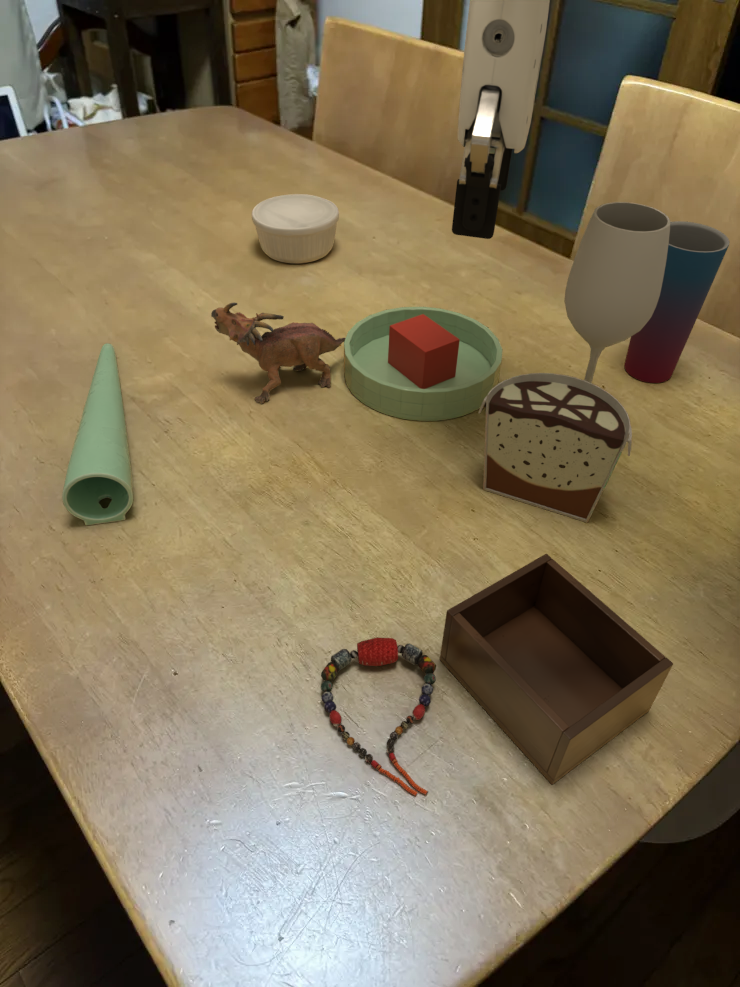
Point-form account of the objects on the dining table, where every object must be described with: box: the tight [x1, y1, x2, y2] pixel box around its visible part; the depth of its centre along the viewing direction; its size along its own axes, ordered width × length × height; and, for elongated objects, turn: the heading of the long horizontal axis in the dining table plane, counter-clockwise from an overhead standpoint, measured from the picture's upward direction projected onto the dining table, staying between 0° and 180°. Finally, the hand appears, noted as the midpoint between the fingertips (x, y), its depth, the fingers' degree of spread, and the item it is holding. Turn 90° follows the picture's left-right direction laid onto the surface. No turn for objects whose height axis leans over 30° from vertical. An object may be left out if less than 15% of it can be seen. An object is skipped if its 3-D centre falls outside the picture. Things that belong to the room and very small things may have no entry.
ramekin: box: [251, 193, 340, 264], centre depth 99 cm, size 11×11×5 cm
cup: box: [624, 220, 730, 384], centre depth 76 cm, size 7×7×15 cm
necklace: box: [320, 637, 437, 796], centre depth 49 cm, size 8×11×2 cm
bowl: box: [343, 306, 504, 422], centre depth 78 cm, size 16×16×4 cm
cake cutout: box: [477, 372, 633, 524], centre depth 64 cm, size 12×6×10 cm, turn 65°
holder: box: [439, 553, 674, 785], centre depth 50 cm, size 11×9×6 cm
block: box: [388, 314, 460, 389], centre depth 78 cm, size 6×4×4 cm
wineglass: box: [564, 201, 671, 384], centre depth 66 cm, size 8×8×21 cm
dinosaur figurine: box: [210, 302, 346, 404], centre depth 75 cm, size 14×6×9 cm, turn 110°
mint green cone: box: [61, 342, 134, 526], centre depth 70 cm, size 5×6×27 cm
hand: (480, 210), depth 61 cm, fingers open, 9 cm apart
